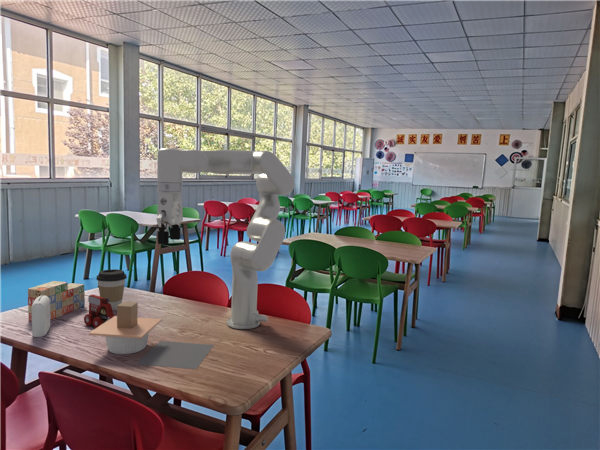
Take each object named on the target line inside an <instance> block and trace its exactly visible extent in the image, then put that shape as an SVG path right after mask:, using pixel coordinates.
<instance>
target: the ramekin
mask: <svg viewBox="0 0 600 450" xmlns="http://www.w3.org/2000/svg"><path fill="white" fill-rule="evenodd" d="M149 333H150V332H148V333H147V334H146V335H145V336H144V337H143V338H142V339H140V338H125V337H111V336H105V343H106V347H107V350H108V351H109V352H110V353H113V354H114V355H115V354H116V355H129V354H135V353H138V352H140V351H142V350H145V348H146V347H147V345H148V341H149Z"/></svg>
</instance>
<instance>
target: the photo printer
mask: <svg viewBox="0 0 600 450" xmlns="http://www.w3.org/2000/svg"><path fill="white" fill-rule="evenodd" d="M50 329H51V320H50V299H49V298H48V297H47V296H39V297H37V298H36V299H35V301H34V302H33V304H32V321H31V335H32V337H33V338H42V337H45V336H46V335H47V334H48V332H49V330H50Z"/></svg>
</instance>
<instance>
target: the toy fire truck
mask: <svg viewBox="0 0 600 450" xmlns="http://www.w3.org/2000/svg"><path fill="white" fill-rule="evenodd" d="M87 298H88V301H87V302H88V303H89V304H88V313H87V314H85V315H84V317H83V322H84V324H85V325H86V326H93V327H94V329H96V328H97V327H99V326H100V325H102V324H103V323H105V322H106V321H108V320H109V319H111V318H112V317H114V316H116V315H115V314H114V310H112V306H111V304H110V303H108V302H109V299H108V298H103V297H100V295H96V294H90V295H89V296H88V297H87Z"/></svg>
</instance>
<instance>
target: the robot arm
mask: <svg viewBox="0 0 600 450" xmlns="http://www.w3.org/2000/svg"><path fill="white" fill-rule="evenodd" d="M156 161H157V163H156V164H157V169H156V171H157V173H156V175H157V176H156V177H157V179H156V180H157V181H156V185H157V187H156V189H157V190H156V191H157V192H156V193H158V197H157V211H156V212H157V213H156V214H157V215H156V216H157V218H156V226H157V244H159V245H169V244H170V243H169V242H170V240H176V241H179V240H181V227H182V226H181V223H182V222H183V220H184V218H183V217H184V216H183V215H184V214H183V213H184V212H183V209H184V208H183V196H182V194H183V174H184V173H185V174H186V173H188V174H199V173H210V174H211V173H212V174H217V175H218V174H219V175H257V177H256V181H255V184H256V189H257V192H258V196H259V203H258V205H257V208H256V210H255V212H254V214H253V215H252V217H251V220H250V221H249V223H248V226H247V227H246V236H247V237H248V239H250V240H251V241H245V240H244V241H243V240H242V241H238V242H236V243H235V244H234V245H233V246H232V247H231V249H230V250H231V251H230V264H231V271H232V273H231V274H232V281H231V308H230V309H231V311H230V317H229V318H227V320H226V324H227V325H226V326H228V327H230V328H233V329H237V330H250V329H255V328H257V327H259V326H260V325H261V322H262V323H263V322H264V323H268V319H269V317H268V316H266V314H259V310H258V309H257V307H258V306H257V305H258V284H259V280H258V279H259V278H258V277H259V276H258V272H265V271H267V270H269V269H270V267H271V266H272V265H273V263H274V260H276V256H277V255H278V253H279V251H280V248H281V246H282V244H283V242H284V240H285V237H286V227H285V225H284V223H283V222H282V221H280V220H279V219H277V218H278V216H279V214H280V211H281V210H280V209H281V203H280V200H279V196H287V195H289V194H291V193H292V192H293V190H294V188H295V181H294V178H293V175H292V174H291V172H290V171H289V170H288V169H287V167H286V166H285V165H284V163H283V162H282V161H281V160H280V158H278V157H277V156H276V155H275V154H274V153H273V152H272V151H270V150H247V149H246V150H245V149H243V150H242V149H217V150H215V149H214V150H198V149H178V148H168V147H167V148H165V147H163V148H160V149H159V148H158V151H157V159H156ZM169 229H170V230H169ZM169 239H170V240H169ZM252 241H254V242H252ZM255 242H258V243H255Z"/></svg>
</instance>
